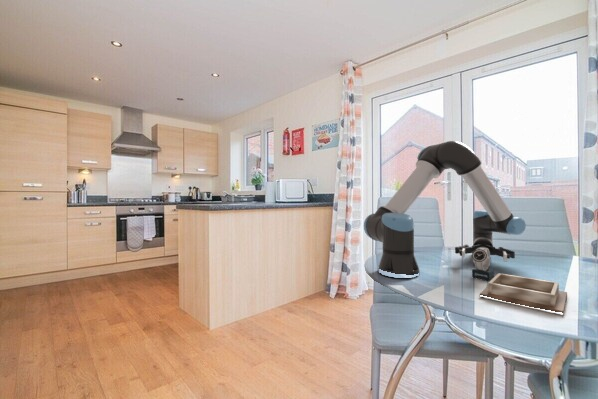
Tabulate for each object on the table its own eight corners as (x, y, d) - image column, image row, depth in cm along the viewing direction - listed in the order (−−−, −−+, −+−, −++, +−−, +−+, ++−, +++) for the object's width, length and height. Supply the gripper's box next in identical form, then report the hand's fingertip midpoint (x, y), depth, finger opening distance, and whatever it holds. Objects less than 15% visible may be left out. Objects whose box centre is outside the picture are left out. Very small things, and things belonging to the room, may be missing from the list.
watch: (469, 278, 100) (469, 248, 100) (479, 274, 105) (478, 245, 104) (487, 282, 95) (486, 250, 95) (496, 277, 100) (496, 247, 100)
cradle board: (479, 297, 82) (479, 283, 82) (494, 282, 95) (493, 270, 95) (563, 315, 69) (563, 299, 69) (567, 296, 82) (567, 282, 82)
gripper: (518, 257, 117) (525, 270, 100) (451, 252, 131) (447, 262, 113) (518, 240, 117) (525, 249, 100) (451, 236, 131) (447, 244, 113)
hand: (483, 256), depth 106 cm, fingers open, 13 cm apart
